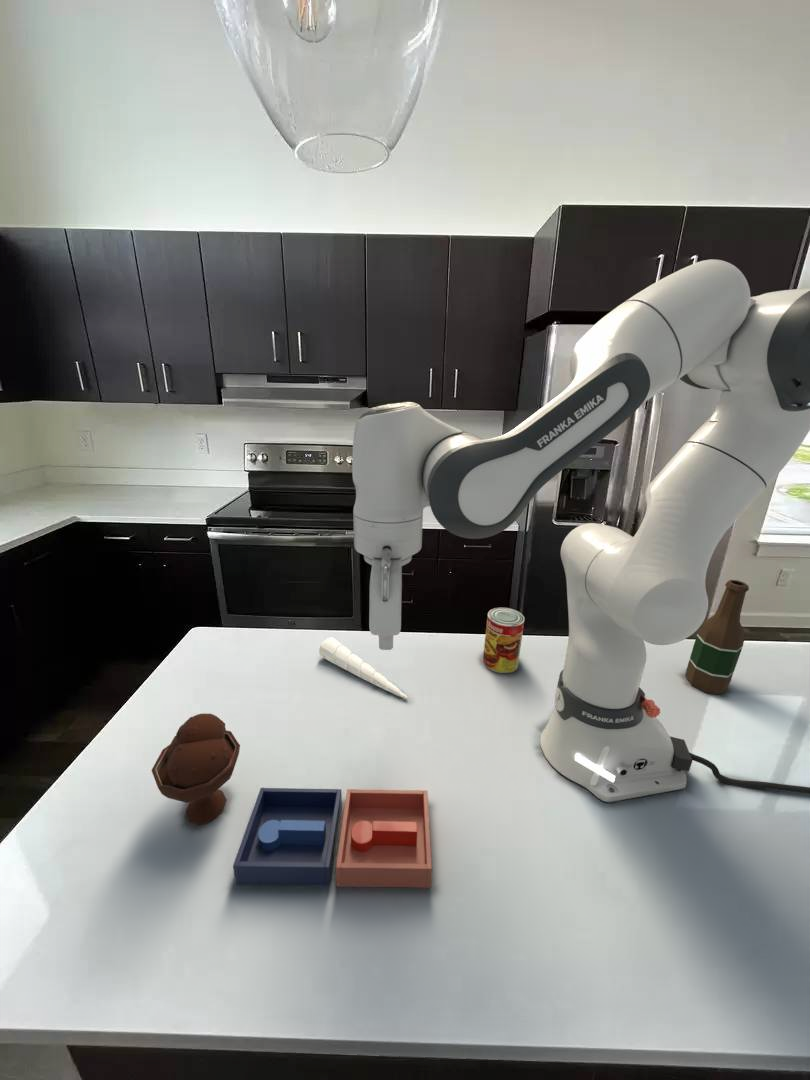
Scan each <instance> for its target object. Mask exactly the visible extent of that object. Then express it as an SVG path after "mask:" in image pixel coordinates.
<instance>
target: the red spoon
mask: <svg viewBox="0 0 810 1080" xmlns="http://www.w3.org/2000/svg"><path fill="white" fill-rule="evenodd" d="M351 844H352V846H353V848H354V849H355V850H357V851H360V852H364V851H367V850H369V849H370V848H371V847H372V846H373V845H385V846H417V822H395V821H373V825H372V824H371V823H370V822H368V821H359V822H357V823H356V824H355V825H354V826H353V827H352V830H351Z"/></svg>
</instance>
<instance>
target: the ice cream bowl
mask: <svg viewBox="0 0 810 1080" xmlns="http://www.w3.org/2000/svg"><path fill="white" fill-rule="evenodd" d="M240 748H241V745H240V743H239V742H238V740H237V738H236V736H235V735H234V733H233V732H232V731H231V730H227V729H226V723H225V722H224V721H223V720H222V719H220V718H219V717H218V716H217V715H215V714H213V713H198V714H195V715H194V716H190V717H189V718H188V719H187V720H186V721H185V722H184V723H183V724H182V725H180V726H179V728H178V729H177V731H176V733H175V735H174V737H173V738H172V740H171V742H170V743H169V744H168V745H167V746H166V747H164V748H162V750H161V752H160V754H159V756H158V758H157V759H156V761H155V763H154V764H153V766H152V768H151V773H152V776H153V778H154V781H155V784H156V786H157V787H156V788H157V789H158V790H159V792H160V794H161V795H162V796H164V797H166V798H167V799H170V800H175V801H179V802H183V803H188V804H187V806H186V809H185V816H186V820H187V821H188V823H190V824H195V825H198V826H199V825H200V826H201V825H203V824H207V823H210V822H212V821H214V820H215V819H216V818H218V816H220V815H221V813H223V812H224V810H225V807H226V804H227V797H226V795H225V794H224V792H223V790H222V789H220V788H222V787H223V786H224V785H225V784H226V783H228V781H229V780H231V777H232V776H233V773H234V770H235V767H236V764H237V761H238V759H239V755H240Z"/></svg>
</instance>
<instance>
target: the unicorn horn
mask: <svg viewBox="0 0 810 1080" xmlns="http://www.w3.org/2000/svg"><path fill="white" fill-rule="evenodd" d="M318 653H319V656H320V657H321V658H323V659H324V660H326V661H328V662H330V663H332V664H333V665H336V666H337V667H340V668H341V669H343V670H345V671H347V672H349V673H351V674H353V675H355V676H357V677H358V678H360V679H362V680H364V681H366V682H368V683H371V684H372V685H374V686H376V687H378V688H380V689H382V690H385V691H386V692H389V693H391V694H393V695H395V696H397V697H400V698H403V699H406V700H409V697H408V696H407V694H406V693H404V692H403V691H401V689H399V688H398V687H397V686H396V685H395V684H394V683H392V682H391V681H390V680H389V681H388V679H387V678H386V677H385V676H383V674H381V673H380V672H378V671H376V669H375V668H373V667H372V666H371V665H370V664H368V663H367V662H365V660H363V659H362V658H360V657H359V656H358V655H357V654H355V653H353V651H351V650H350V649H349V648H348V647H346V646H344V645H343V644H342V643H341V642H340V641H338V640H337V639H336V638H335V637H328V638H326V639H324V640H323V641H322V642H321V644H320V645H319V649H318Z"/></svg>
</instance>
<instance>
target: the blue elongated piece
mask: <svg viewBox="0 0 810 1080" xmlns="http://www.w3.org/2000/svg"><path fill="white" fill-rule="evenodd" d="M258 839H259V845H260V847H261V849H263V850H265V851H272V850H275V849H276V848H278V847H279V846H280V845H281V844H282V845H324V844H325V839H326V824H325V821H306V820H281V822H279V821H278V820H269V821H267V822H265V823H264V824H263V825H262V826H261V827H260V829H259V832H258Z"/></svg>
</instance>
